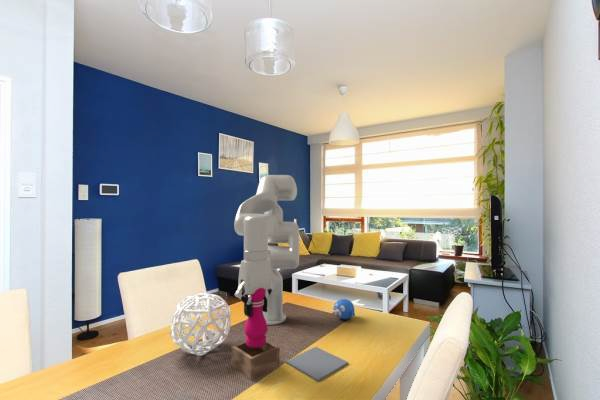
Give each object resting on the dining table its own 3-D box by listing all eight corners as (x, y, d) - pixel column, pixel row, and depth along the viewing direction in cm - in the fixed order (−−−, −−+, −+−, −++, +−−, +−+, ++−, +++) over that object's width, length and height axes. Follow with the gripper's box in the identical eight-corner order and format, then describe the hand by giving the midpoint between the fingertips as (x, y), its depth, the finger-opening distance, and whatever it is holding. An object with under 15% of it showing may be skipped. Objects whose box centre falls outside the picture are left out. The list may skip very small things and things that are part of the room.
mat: (285, 362, 97) (285, 361, 97) (315, 348, 106) (315, 346, 106) (317, 382, 87) (317, 379, 87) (348, 363, 96) (348, 362, 96)
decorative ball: (212, 371, 92) (213, 307, 92) (155, 363, 96) (156, 302, 96) (241, 341, 111) (241, 289, 111) (192, 335, 116) (192, 285, 116)
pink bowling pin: (263, 349, 91) (263, 283, 91) (240, 347, 93) (240, 281, 92) (270, 338, 98) (270, 276, 98) (249, 336, 100) (249, 275, 99)
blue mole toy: (322, 319, 133) (322, 299, 133) (339, 312, 141) (339, 294, 141) (343, 327, 124) (343, 307, 124) (361, 320, 132) (361, 300, 132)
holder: (231, 365, 95) (231, 346, 95) (259, 354, 102) (259, 336, 102) (251, 380, 87) (251, 359, 87) (279, 366, 95) (279, 347, 95)
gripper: (270, 250, 104) (270, 303, 104) (225, 257, 92) (225, 317, 92) (284, 253, 98) (284, 309, 98) (239, 261, 86) (239, 325, 87)
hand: (255, 312), depth 95 cm, fingers closed on pink bowling pin, 5 cm apart
